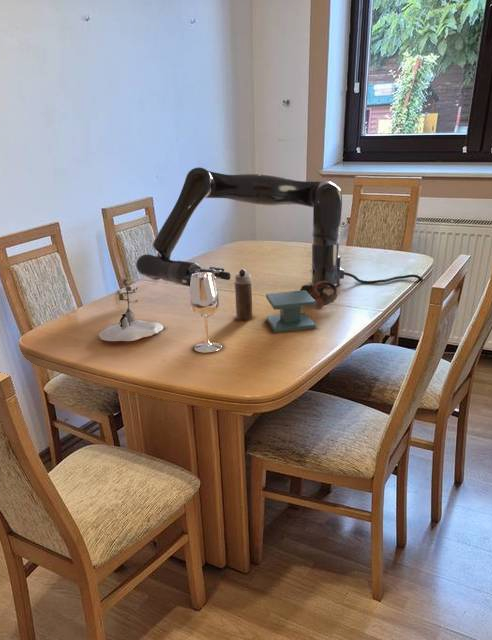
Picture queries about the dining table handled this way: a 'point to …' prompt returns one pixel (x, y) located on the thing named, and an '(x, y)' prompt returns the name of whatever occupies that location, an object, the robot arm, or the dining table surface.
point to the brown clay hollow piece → (321, 293)
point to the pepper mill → (243, 296)
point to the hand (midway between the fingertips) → (220, 279)
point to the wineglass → (204, 305)
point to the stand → (290, 311)
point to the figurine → (129, 324)
